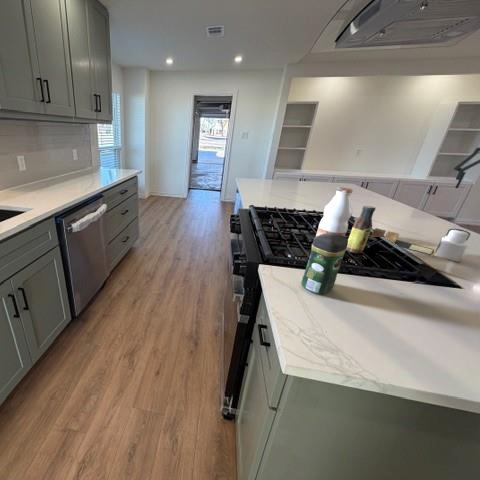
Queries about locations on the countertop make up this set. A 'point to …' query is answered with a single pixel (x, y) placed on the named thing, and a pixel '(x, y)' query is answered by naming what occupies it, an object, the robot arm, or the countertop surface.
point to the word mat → (411, 246)
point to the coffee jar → (324, 262)
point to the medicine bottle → (453, 245)
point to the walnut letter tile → (378, 233)
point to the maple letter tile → (392, 236)
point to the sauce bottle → (361, 230)
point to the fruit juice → (337, 213)
